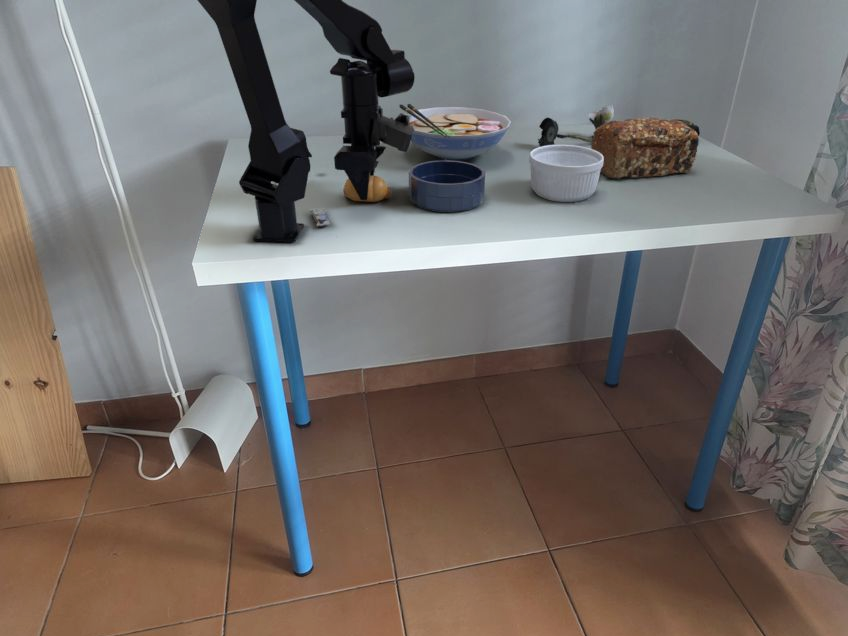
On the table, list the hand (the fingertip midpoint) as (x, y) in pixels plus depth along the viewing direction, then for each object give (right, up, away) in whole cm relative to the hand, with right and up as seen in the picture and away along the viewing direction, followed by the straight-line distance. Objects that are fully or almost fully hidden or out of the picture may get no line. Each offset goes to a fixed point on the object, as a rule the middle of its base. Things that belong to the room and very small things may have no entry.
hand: (366, 195), depth 117 cm
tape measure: (+67, +22, +39) cm, 81 cm away
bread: (+53, +9, +19) cm, 57 cm away
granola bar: (-6, -6, -8) cm, 12 cm away
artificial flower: (+44, +20, +35) cm, 59 cm away
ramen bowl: (+15, +14, +24) cm, 31 cm away
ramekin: (+35, +2, +7) cm, 36 cm away
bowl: (+14, 0, +2) cm, 14 cm away
